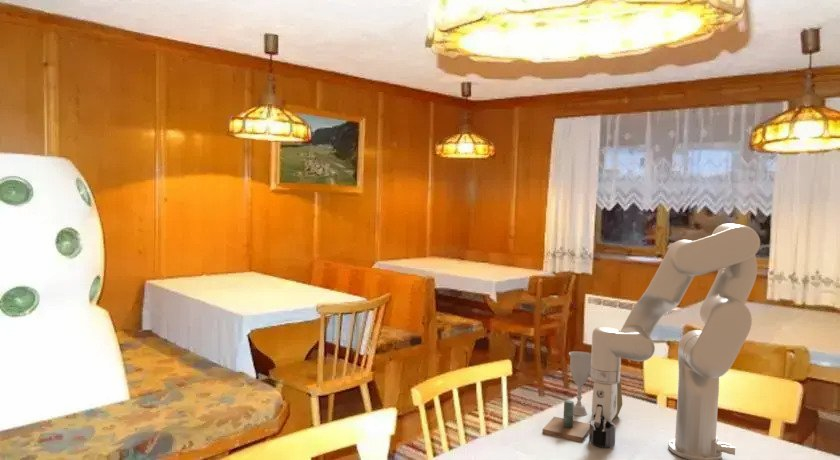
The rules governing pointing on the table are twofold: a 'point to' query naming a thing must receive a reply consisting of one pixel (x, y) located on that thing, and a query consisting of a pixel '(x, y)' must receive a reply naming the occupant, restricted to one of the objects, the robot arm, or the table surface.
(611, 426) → the ring
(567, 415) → the post stand
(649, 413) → the table surface
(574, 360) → the chalice
